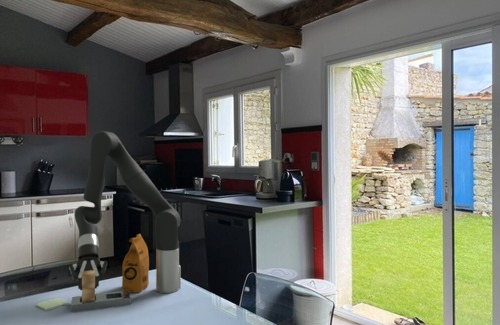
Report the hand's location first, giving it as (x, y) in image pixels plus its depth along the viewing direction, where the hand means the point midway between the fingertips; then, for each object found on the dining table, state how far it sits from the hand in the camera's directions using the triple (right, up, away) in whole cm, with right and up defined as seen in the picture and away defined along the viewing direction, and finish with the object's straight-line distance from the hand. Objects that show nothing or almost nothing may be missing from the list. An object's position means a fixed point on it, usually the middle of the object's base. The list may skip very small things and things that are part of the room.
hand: (88, 288), depth 140 cm
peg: (-1, -5, +2) cm, 5 cm away
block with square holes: (+3, -7, +3) cm, 9 cm away
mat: (-14, -7, +2) cm, 16 cm away
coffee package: (+11, -7, +22) cm, 25 cm away
